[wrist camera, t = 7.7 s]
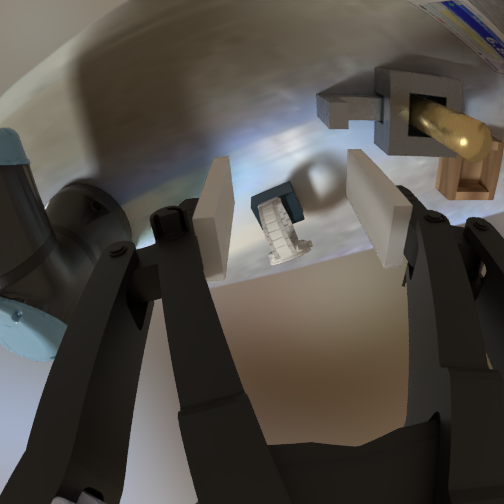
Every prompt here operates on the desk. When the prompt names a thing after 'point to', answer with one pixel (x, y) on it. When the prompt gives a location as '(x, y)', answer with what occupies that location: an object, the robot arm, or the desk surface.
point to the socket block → (397, 111)
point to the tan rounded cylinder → (450, 128)
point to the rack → (470, 175)
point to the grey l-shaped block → (348, 109)
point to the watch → (280, 222)
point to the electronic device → (472, 25)
